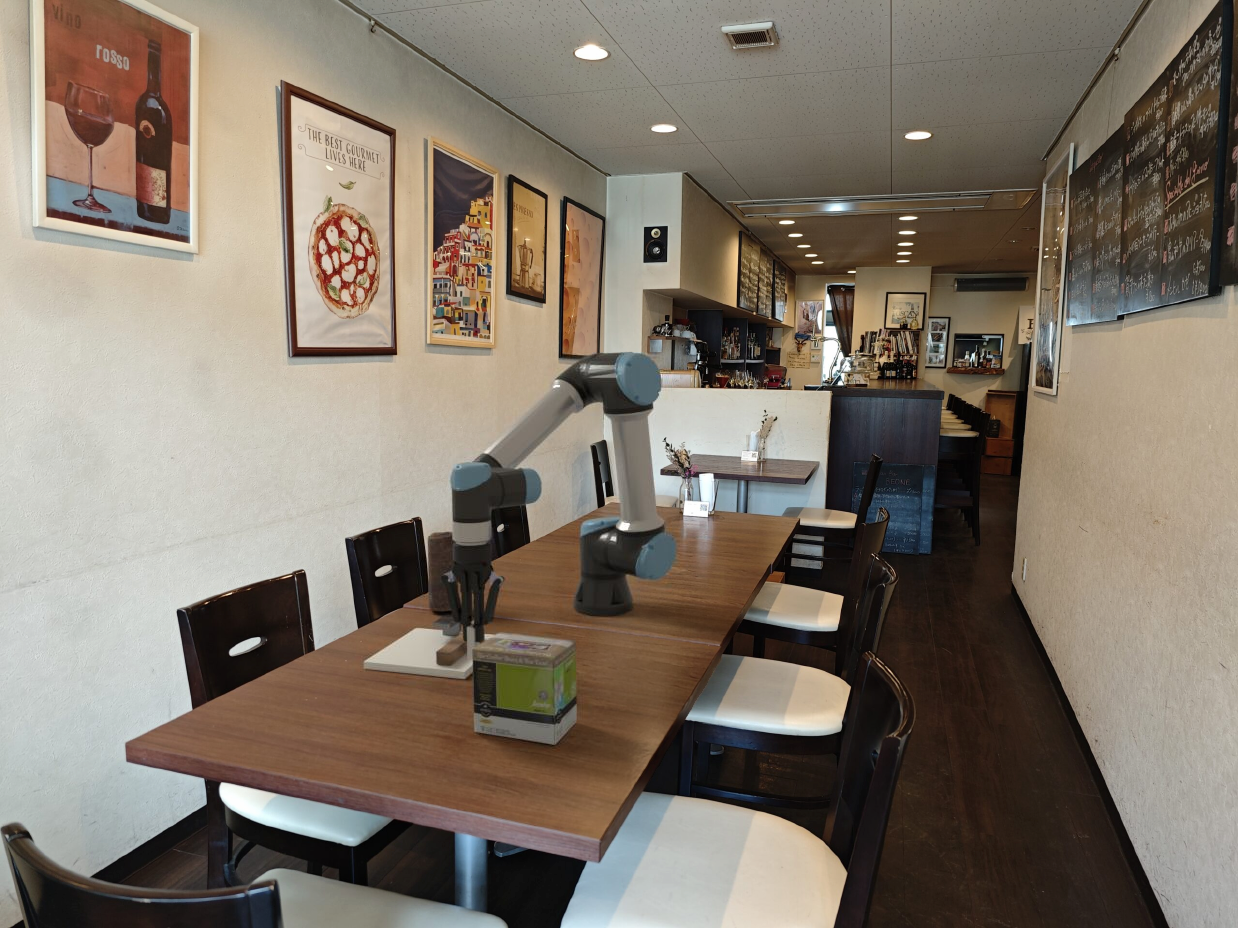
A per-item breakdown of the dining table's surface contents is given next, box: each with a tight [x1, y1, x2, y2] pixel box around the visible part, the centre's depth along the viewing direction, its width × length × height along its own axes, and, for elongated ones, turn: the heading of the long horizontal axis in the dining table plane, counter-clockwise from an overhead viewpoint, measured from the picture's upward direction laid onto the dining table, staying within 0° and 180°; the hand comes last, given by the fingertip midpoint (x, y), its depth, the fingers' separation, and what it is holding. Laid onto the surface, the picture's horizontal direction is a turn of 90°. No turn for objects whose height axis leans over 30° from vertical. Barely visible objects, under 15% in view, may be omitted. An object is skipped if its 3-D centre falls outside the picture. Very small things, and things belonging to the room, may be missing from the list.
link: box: [436, 621, 486, 665], centre depth 167 cm, size 17×4×4 cm, turn 166°
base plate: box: [363, 627, 495, 680], centre depth 169 cm, size 22×22×2 cm
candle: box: [427, 531, 459, 613], centre depth 199 cm, size 8×7×20 cm
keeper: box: [432, 614, 462, 636], centre depth 175 cm, size 4×6×4 cm
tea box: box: [472, 631, 578, 746], centre depth 134 cm, size 15×10×15 cm
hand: (473, 656), depth 160 cm, fingers closed
